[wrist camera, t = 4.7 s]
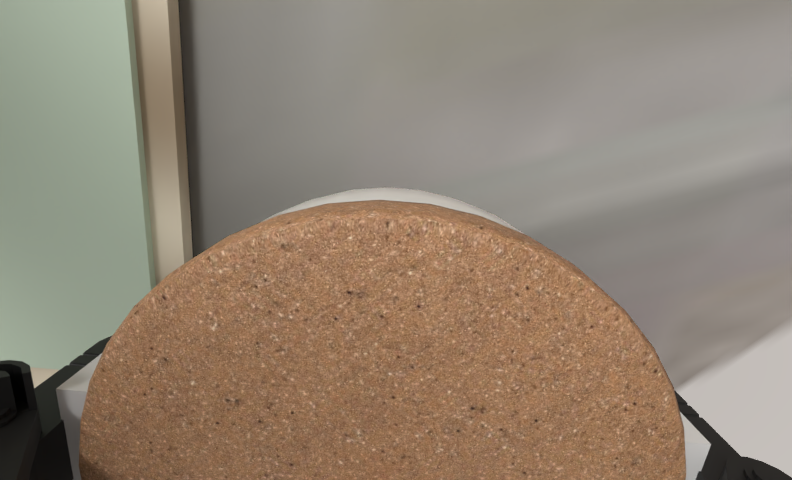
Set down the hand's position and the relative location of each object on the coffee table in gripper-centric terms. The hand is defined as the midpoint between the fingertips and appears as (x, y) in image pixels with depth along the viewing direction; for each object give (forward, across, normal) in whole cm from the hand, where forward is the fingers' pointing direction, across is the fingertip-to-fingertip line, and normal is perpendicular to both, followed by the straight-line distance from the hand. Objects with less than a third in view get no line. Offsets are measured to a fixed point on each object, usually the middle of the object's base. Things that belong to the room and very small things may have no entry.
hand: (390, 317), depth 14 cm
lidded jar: (+1, 0, 0) cm, 1 cm away
